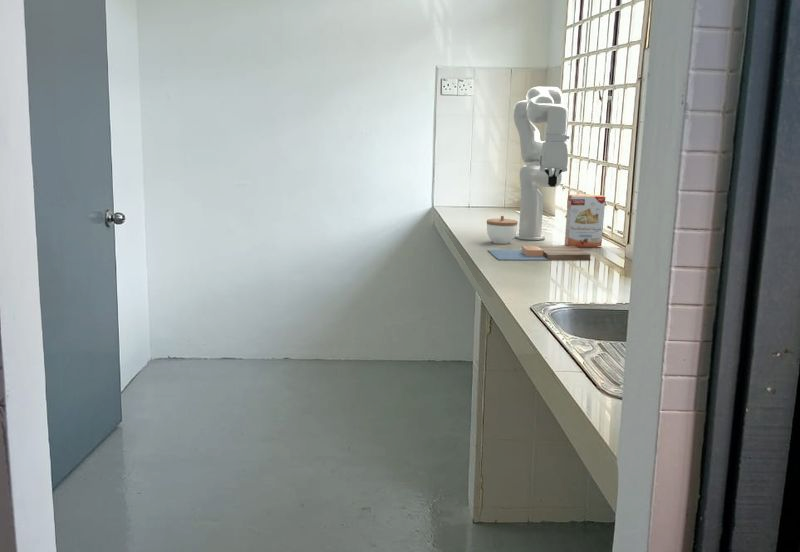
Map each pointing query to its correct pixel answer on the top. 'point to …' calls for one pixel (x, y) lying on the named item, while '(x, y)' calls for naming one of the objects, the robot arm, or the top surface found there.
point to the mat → (513, 255)
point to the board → (564, 253)
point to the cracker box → (584, 220)
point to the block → (532, 251)
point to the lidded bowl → (501, 230)
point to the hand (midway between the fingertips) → (552, 186)
